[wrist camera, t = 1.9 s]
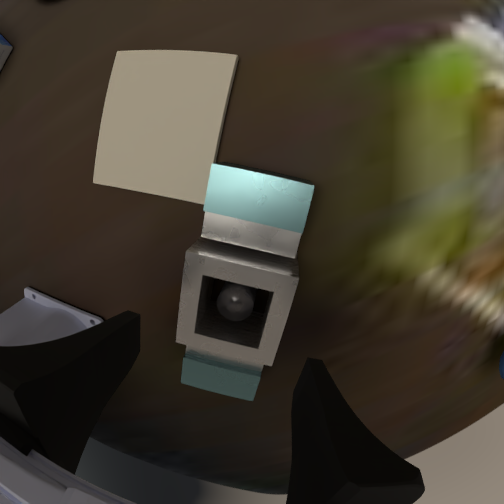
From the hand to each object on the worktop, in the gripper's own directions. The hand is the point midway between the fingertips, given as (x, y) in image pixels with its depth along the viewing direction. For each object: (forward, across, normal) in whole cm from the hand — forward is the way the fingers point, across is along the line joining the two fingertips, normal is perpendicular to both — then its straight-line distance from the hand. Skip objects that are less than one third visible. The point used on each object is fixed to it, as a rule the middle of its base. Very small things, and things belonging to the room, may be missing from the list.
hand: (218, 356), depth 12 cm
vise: (+8, 0, 0) cm, 8 cm away
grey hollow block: (+8, 0, 0) cm, 8 cm away
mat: (+8, +7, -9) cm, 14 cm away
